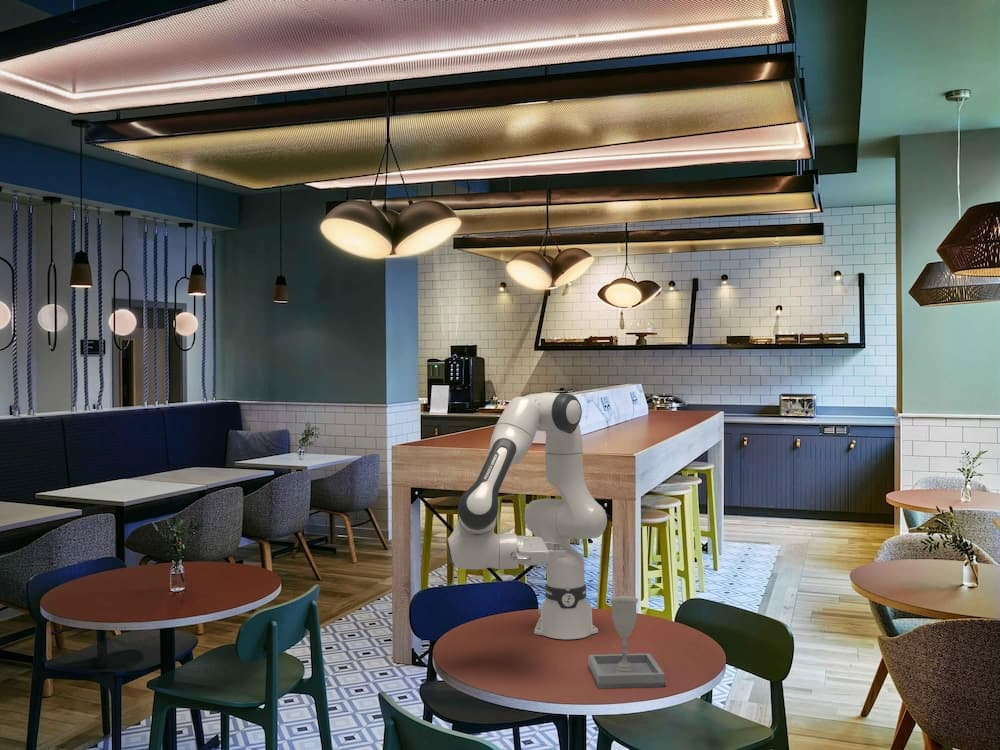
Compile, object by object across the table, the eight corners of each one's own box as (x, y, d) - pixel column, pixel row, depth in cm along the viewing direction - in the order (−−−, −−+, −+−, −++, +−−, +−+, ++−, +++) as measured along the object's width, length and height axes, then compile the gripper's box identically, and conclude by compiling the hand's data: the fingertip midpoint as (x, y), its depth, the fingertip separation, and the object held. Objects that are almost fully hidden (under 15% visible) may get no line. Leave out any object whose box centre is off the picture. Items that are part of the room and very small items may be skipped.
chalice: (622, 665, 214) (622, 594, 214) (645, 671, 209) (644, 599, 209) (605, 672, 209) (604, 599, 209) (627, 679, 204) (626, 604, 204)
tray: (588, 666, 217) (588, 654, 217) (649, 665, 217) (649, 653, 217) (598, 688, 201) (598, 675, 201) (664, 686, 201) (664, 674, 201)
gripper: (512, 546, 206) (568, 545, 206) (507, 532, 226) (558, 531, 227) (512, 572, 206) (568, 571, 206) (508, 555, 226) (559, 555, 227)
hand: (563, 550), depth 217 cm, fingers open, 8 cm apart
